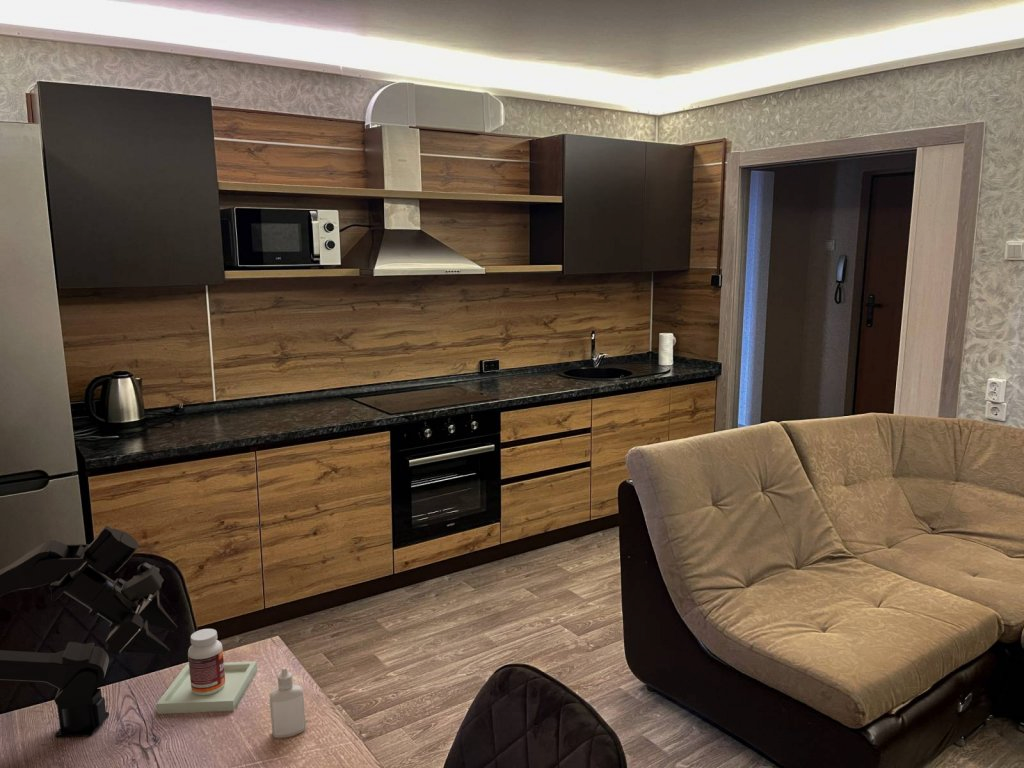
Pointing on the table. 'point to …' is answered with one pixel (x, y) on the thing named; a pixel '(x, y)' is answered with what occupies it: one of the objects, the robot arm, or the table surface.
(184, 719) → the table surface
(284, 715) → the eye dropper bottle
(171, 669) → the table surface
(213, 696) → the tray
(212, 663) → the pill bottle
